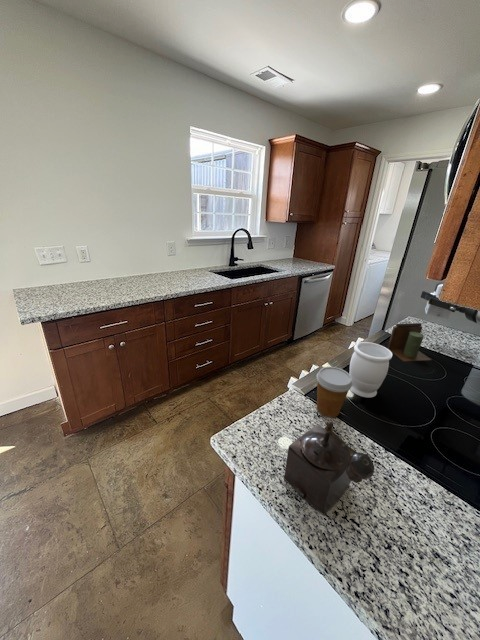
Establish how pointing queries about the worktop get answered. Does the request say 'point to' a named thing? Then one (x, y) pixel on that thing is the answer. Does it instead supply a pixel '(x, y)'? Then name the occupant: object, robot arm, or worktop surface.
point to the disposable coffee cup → (332, 390)
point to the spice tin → (413, 344)
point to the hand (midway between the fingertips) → (434, 294)
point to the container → (436, 310)
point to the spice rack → (404, 341)
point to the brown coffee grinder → (324, 467)
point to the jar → (368, 368)
